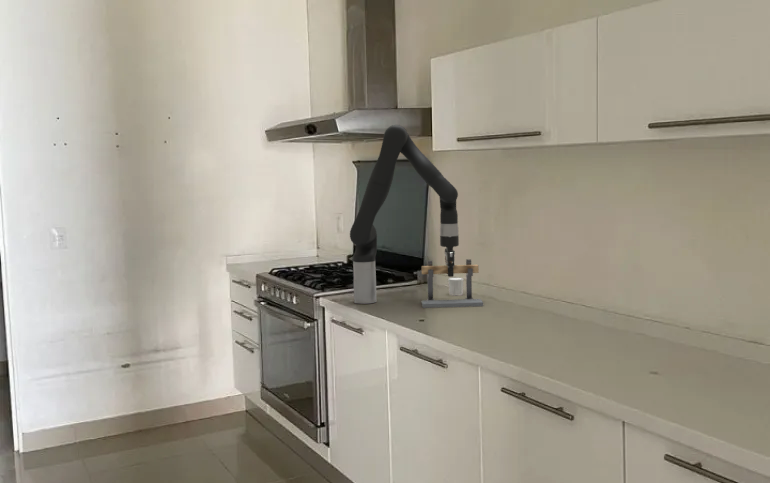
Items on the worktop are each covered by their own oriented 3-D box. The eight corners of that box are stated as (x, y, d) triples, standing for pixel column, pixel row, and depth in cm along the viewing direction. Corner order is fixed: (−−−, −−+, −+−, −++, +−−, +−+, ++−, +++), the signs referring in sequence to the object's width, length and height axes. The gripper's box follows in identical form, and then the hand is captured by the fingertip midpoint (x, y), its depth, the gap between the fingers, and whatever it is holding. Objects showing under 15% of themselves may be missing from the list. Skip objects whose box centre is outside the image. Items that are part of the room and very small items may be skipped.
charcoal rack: (427, 303, 309) (426, 262, 308) (426, 301, 315) (426, 260, 314) (474, 302, 309) (473, 261, 308) (472, 299, 316) (472, 259, 314)
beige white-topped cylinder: (466, 295, 327) (465, 279, 326) (450, 296, 325) (450, 280, 324) (461, 292, 333) (460, 277, 333) (446, 293, 332) (445, 277, 331)
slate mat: (422, 307, 301) (422, 304, 301) (421, 304, 309) (421, 300, 309) (483, 306, 301) (483, 302, 301) (480, 302, 309) (480, 298, 309)
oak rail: (422, 274, 309) (421, 267, 309) (421, 273, 312) (421, 266, 312) (478, 272, 309) (478, 265, 309) (477, 271, 312) (477, 264, 312)
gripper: (438, 233, 316) (439, 273, 318) (441, 236, 302) (442, 278, 304) (456, 232, 316) (457, 272, 318) (460, 236, 302) (461, 277, 304)
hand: (450, 275), depth 311 cm, fingers open, 6 cm apart
